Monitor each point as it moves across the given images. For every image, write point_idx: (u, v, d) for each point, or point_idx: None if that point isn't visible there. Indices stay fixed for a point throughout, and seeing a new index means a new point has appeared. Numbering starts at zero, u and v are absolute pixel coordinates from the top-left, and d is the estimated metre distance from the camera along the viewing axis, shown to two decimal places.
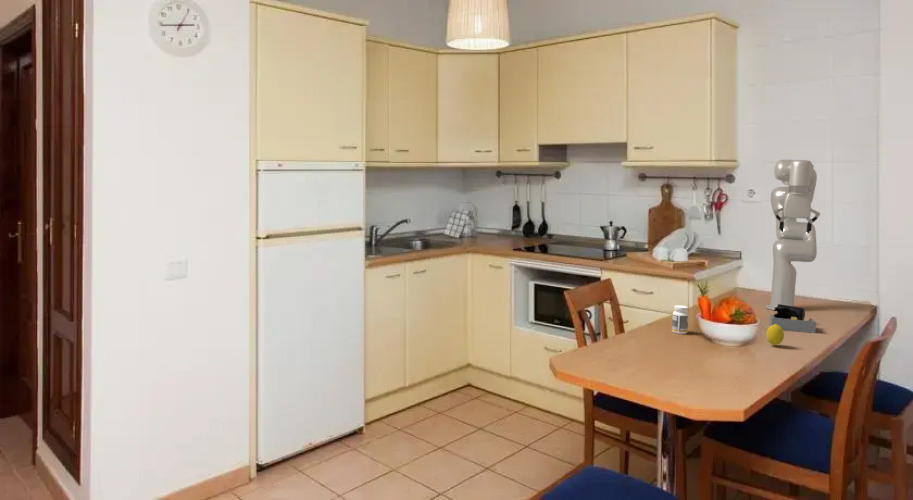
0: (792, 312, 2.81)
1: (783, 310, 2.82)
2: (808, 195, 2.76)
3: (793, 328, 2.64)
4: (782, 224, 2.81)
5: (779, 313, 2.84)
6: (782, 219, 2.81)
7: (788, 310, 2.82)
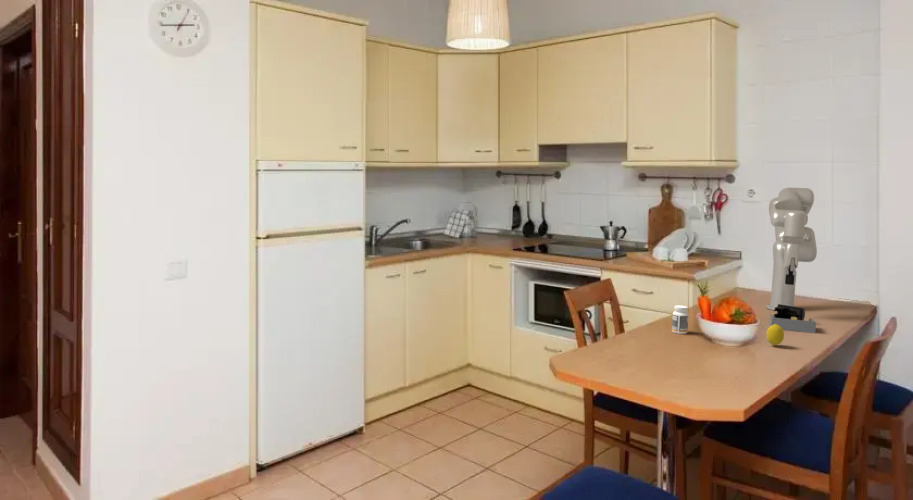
0: (792, 312, 2.81)
1: (783, 310, 2.82)
2: None
3: (793, 328, 2.64)
4: (794, 277, 2.85)
5: (779, 313, 2.84)
6: (793, 272, 2.85)
7: (788, 310, 2.82)
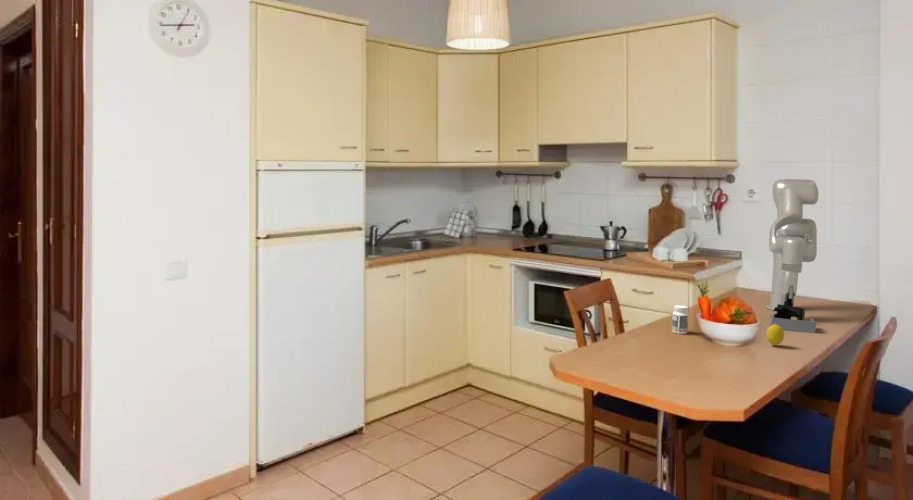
0: (792, 312, 2.81)
1: (783, 310, 2.82)
2: None
3: (793, 328, 2.64)
4: (792, 305, 2.83)
5: (779, 313, 2.83)
6: (792, 300, 2.83)
7: (788, 310, 2.82)
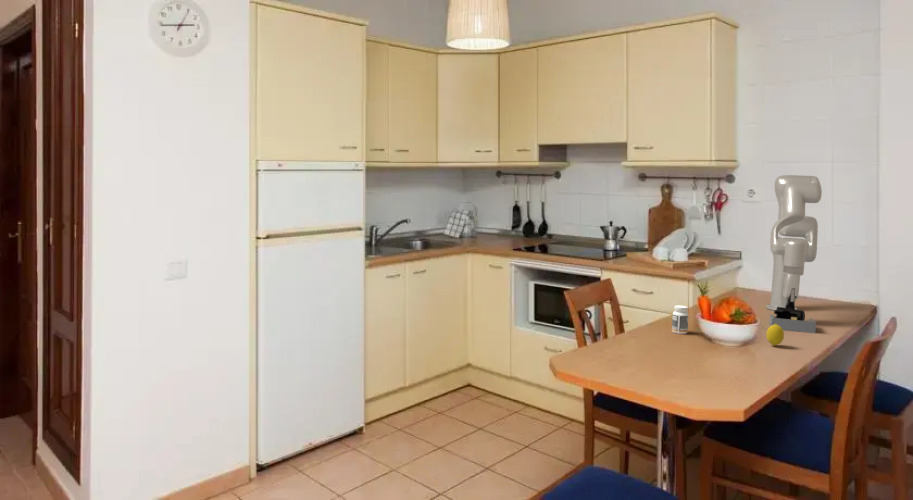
0: (792, 315, 2.75)
1: (782, 313, 2.76)
2: None
3: (793, 328, 2.64)
4: (794, 308, 2.77)
5: (778, 316, 2.77)
6: (794, 303, 2.77)
7: (787, 313, 2.76)
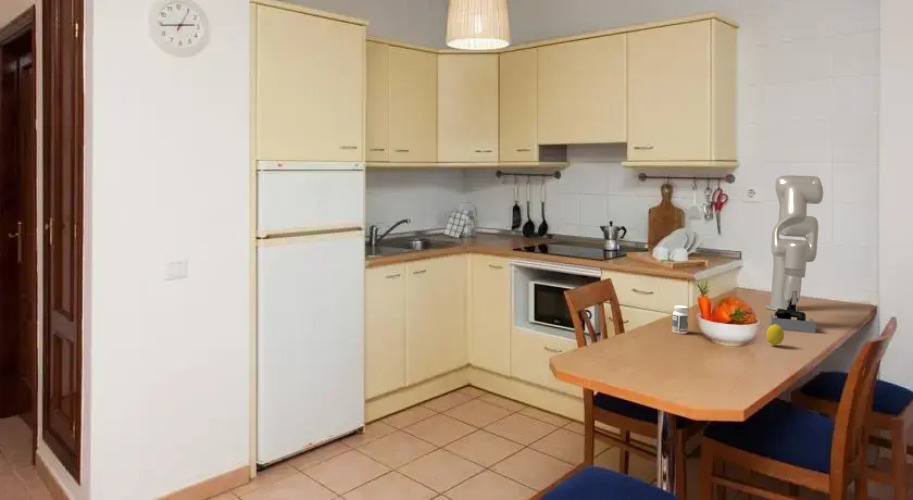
0: (792, 316, 2.72)
1: (783, 315, 2.73)
2: None
3: (793, 328, 2.64)
4: (795, 310, 2.74)
5: None
6: (795, 305, 2.73)
7: (788, 314, 2.73)
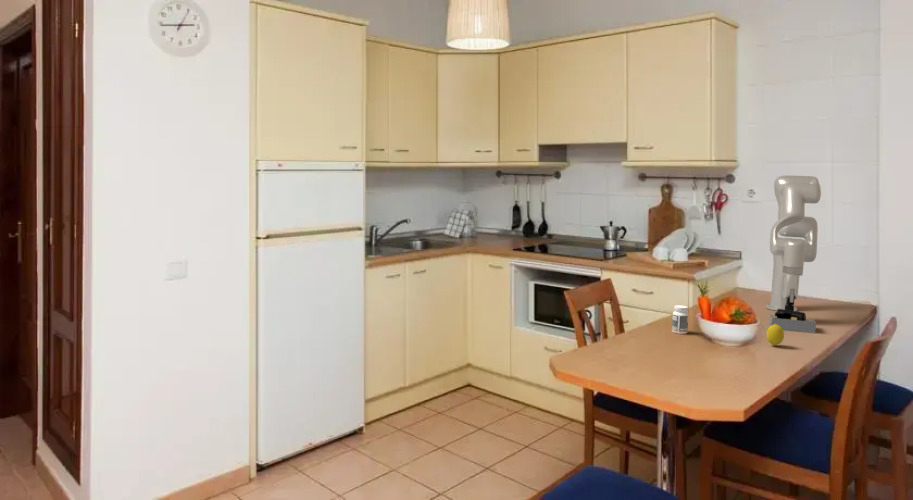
0: None
1: (783, 315, 2.73)
2: None
3: (793, 328, 2.64)
4: (793, 308, 2.79)
5: None
6: (793, 303, 2.79)
7: (788, 315, 2.73)
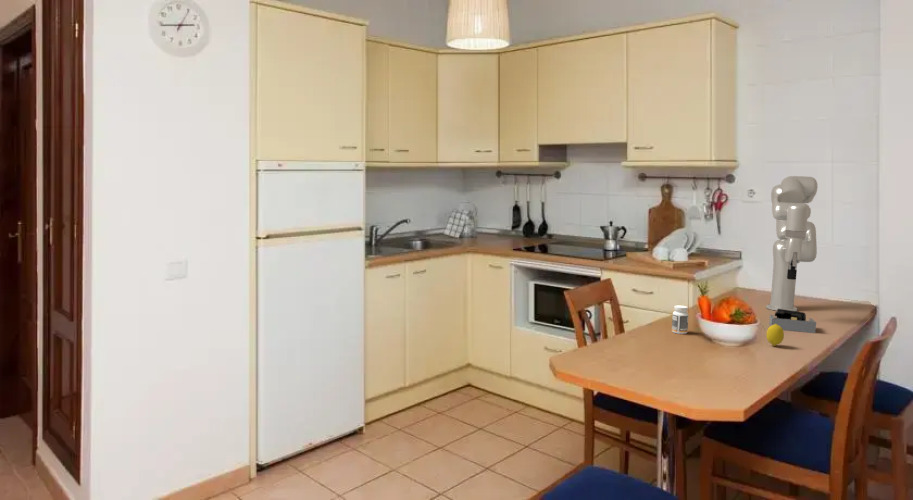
0: None
1: (783, 315, 2.73)
2: None
3: (793, 328, 2.64)
4: (796, 272, 2.79)
5: None
6: None
7: (788, 315, 2.73)
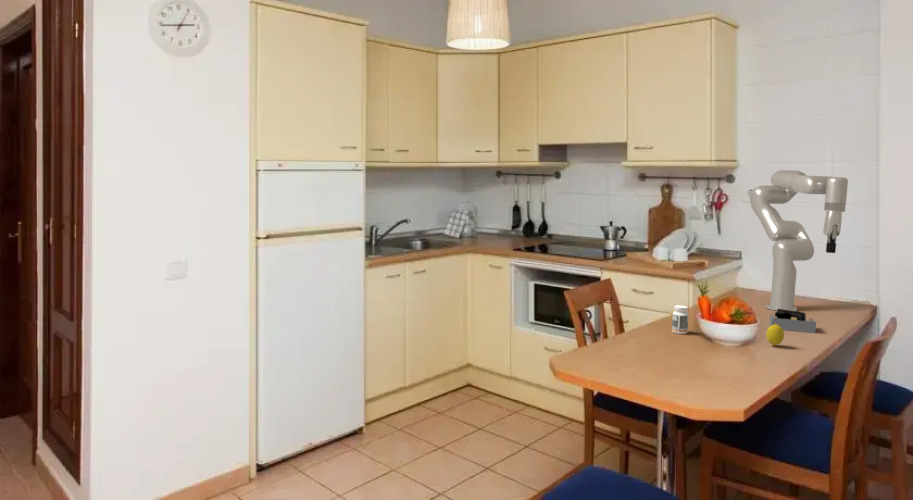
0: None
1: (783, 315, 2.73)
2: None
3: (793, 328, 2.64)
4: (835, 245, 2.77)
5: None
6: (835, 240, 2.77)
7: (788, 315, 2.73)
